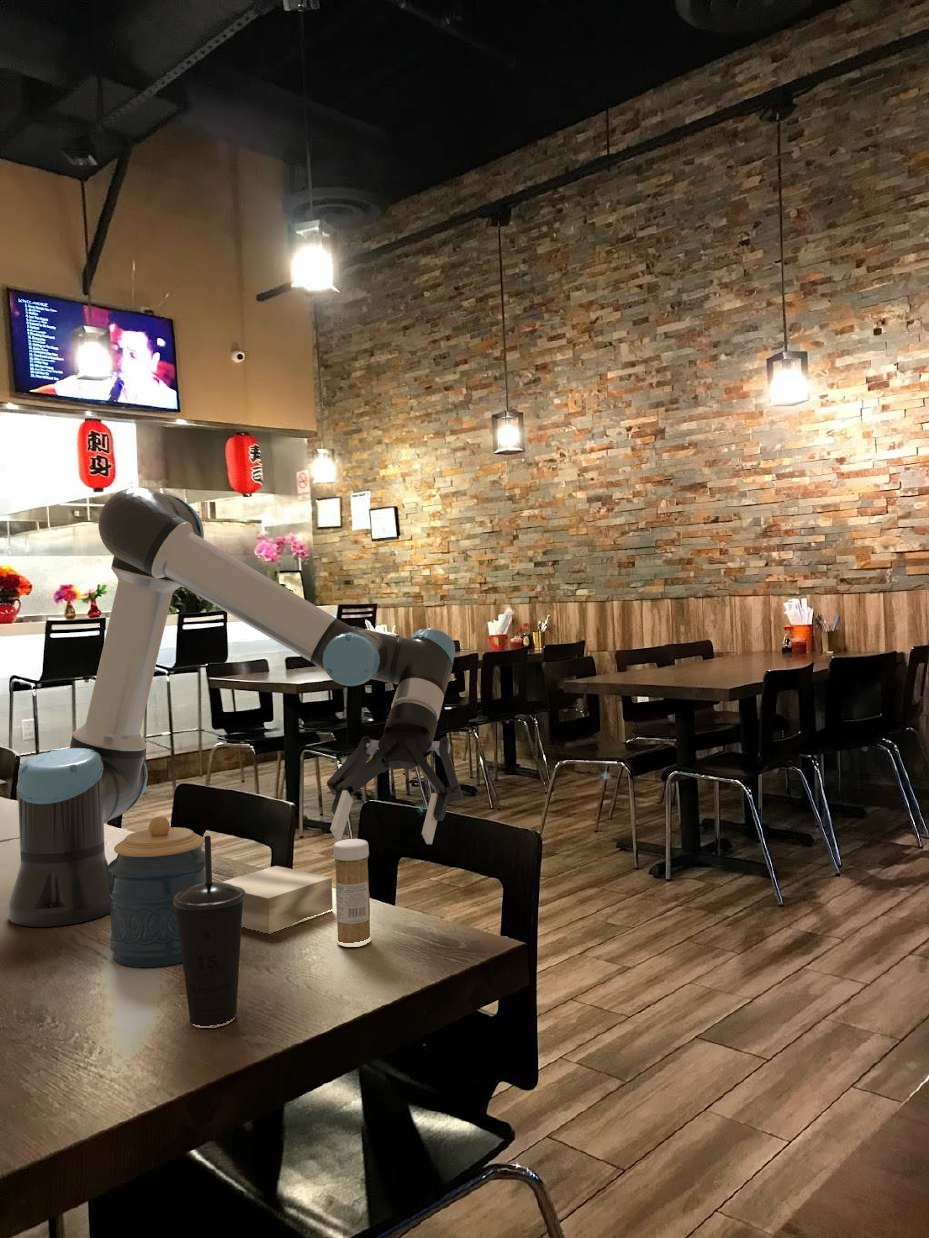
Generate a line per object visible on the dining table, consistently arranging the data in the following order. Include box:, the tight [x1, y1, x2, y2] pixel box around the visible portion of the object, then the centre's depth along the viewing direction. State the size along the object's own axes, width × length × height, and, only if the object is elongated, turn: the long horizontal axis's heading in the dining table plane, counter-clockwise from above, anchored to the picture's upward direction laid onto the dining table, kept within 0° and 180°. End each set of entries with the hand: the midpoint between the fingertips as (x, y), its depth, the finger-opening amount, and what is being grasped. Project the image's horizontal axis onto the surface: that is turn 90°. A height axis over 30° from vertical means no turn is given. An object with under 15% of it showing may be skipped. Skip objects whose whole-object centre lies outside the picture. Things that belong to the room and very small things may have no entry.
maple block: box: [222, 865, 334, 935], centre depth 143 cm, size 12×12×5 cm
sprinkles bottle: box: [333, 838, 371, 943], centre depth 130 cm, size 5×5×14 cm
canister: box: [108, 816, 213, 968], centre depth 129 cm, size 13×13×18 cm
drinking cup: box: [173, 835, 245, 1026], centre depth 107 cm, size 8×8×20 cm
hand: (380, 837), depth 137 cm, fingers open, 13 cm apart
